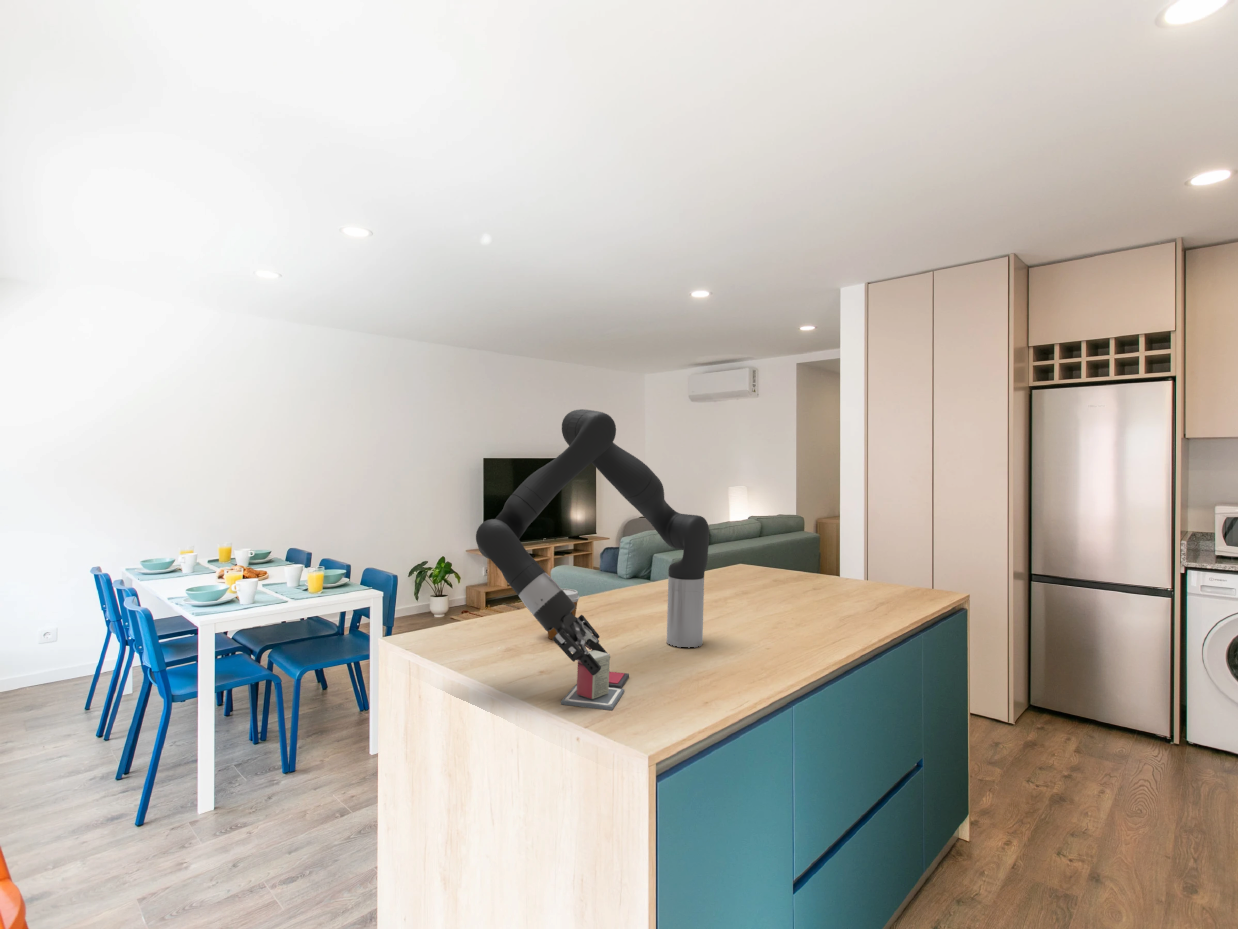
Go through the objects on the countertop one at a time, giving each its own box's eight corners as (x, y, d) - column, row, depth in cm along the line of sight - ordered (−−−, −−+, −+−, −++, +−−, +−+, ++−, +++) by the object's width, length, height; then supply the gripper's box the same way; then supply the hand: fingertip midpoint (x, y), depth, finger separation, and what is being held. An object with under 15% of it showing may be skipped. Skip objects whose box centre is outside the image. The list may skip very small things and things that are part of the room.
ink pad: (593, 673, 139) (593, 668, 139) (629, 677, 137) (629, 672, 137) (582, 685, 131) (582, 680, 131) (620, 689, 129) (620, 684, 129)
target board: (576, 686, 131) (576, 683, 131) (624, 692, 128) (624, 688, 128) (560, 704, 121) (561, 700, 121) (612, 710, 119) (612, 706, 119)
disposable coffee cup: (581, 633, 171) (582, 589, 171) (575, 643, 162) (576, 596, 162) (546, 631, 172) (547, 587, 172) (538, 641, 163) (539, 594, 163)
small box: (592, 688, 128) (594, 649, 128) (609, 694, 125) (610, 653, 125) (575, 694, 124) (577, 653, 124) (592, 700, 121) (593, 658, 121)
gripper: (547, 596, 119) (606, 665, 117) (571, 582, 133) (624, 644, 131) (520, 622, 121) (578, 691, 118) (546, 606, 135) (598, 667, 132)
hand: (602, 666), depth 124 cm, fingers open, 6 cm apart
